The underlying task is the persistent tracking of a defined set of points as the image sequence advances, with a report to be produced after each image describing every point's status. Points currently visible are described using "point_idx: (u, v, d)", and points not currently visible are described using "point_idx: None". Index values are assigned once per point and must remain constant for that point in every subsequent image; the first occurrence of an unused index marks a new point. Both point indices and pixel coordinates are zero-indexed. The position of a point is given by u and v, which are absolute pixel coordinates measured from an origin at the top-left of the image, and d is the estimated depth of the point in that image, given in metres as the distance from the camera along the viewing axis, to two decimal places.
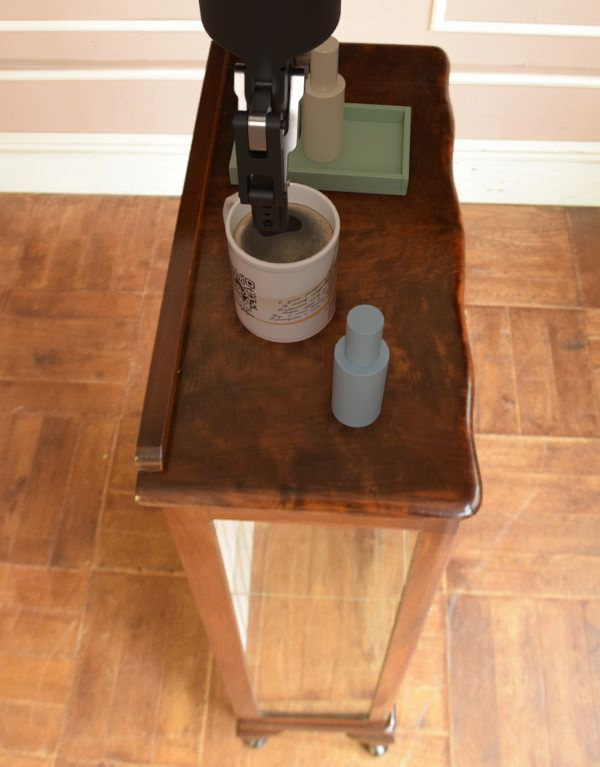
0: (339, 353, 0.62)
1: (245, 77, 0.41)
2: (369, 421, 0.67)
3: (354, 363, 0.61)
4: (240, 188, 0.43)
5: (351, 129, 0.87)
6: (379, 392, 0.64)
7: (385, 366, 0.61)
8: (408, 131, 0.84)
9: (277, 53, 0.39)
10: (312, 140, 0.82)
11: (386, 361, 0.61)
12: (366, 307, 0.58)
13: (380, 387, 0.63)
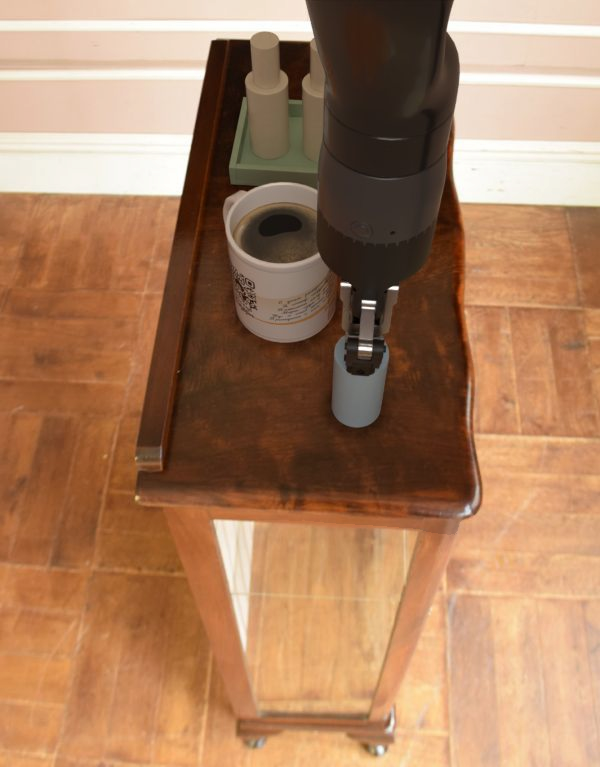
0: (338, 353, 0.62)
1: (354, 296, 0.50)
2: (369, 421, 0.67)
3: None
4: (346, 364, 0.55)
5: None
6: (379, 392, 0.64)
7: (385, 366, 0.61)
8: None
9: (383, 284, 0.49)
10: (312, 140, 0.82)
11: (386, 361, 0.61)
12: None
13: (380, 387, 0.63)
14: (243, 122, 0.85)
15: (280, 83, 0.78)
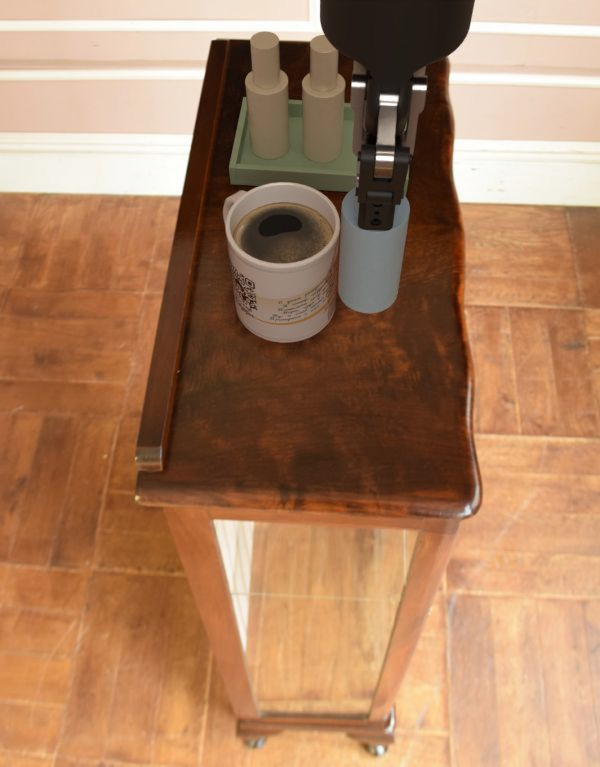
0: (347, 207, 0.50)
1: (370, 88, 0.38)
2: (384, 305, 0.56)
3: None
4: (359, 196, 0.43)
5: (351, 129, 0.87)
6: (397, 262, 0.52)
7: (405, 222, 0.49)
8: None
9: (409, 62, 0.37)
10: (312, 140, 0.82)
11: (406, 216, 0.49)
12: None
13: (398, 253, 0.52)
14: (243, 122, 0.85)
15: (280, 83, 0.78)
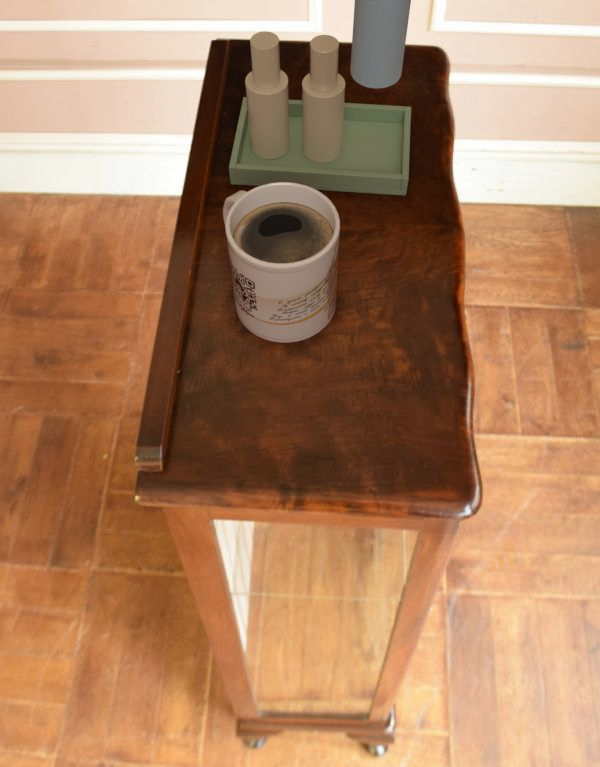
0: None
1: None
2: (390, 80, 0.65)
3: None
4: None
5: (351, 129, 0.87)
6: (402, 32, 0.62)
7: None
8: (408, 131, 0.84)
9: None
10: (312, 140, 0.82)
11: None
12: None
13: (403, 22, 0.61)
14: (243, 122, 0.85)
15: (280, 83, 0.78)
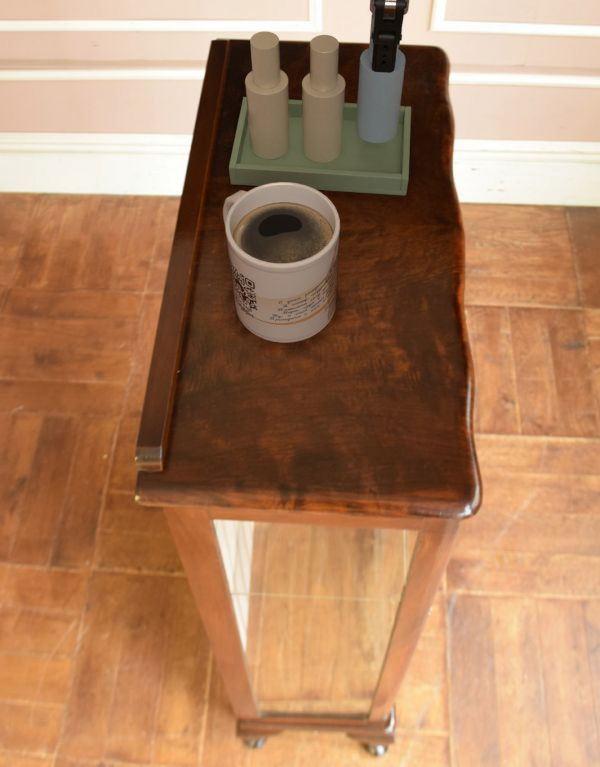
0: (364, 59, 0.75)
1: None
2: (387, 136, 0.81)
3: None
4: (374, 36, 0.68)
5: (351, 129, 0.87)
6: (396, 100, 0.78)
7: (402, 68, 0.75)
8: (408, 131, 0.84)
9: None
10: (312, 140, 0.82)
11: (403, 64, 0.75)
12: None
13: (397, 93, 0.77)
14: (243, 122, 0.85)
15: (280, 83, 0.78)
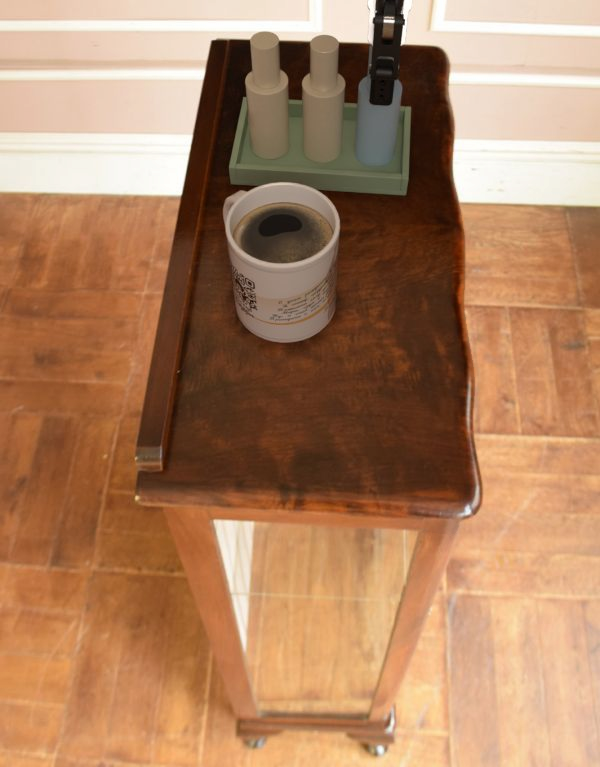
0: (362, 87, 0.78)
1: None
2: (385, 160, 0.84)
3: None
4: (371, 66, 0.68)
5: (351, 129, 0.87)
6: (394, 126, 0.80)
7: (399, 96, 0.77)
8: (408, 131, 0.84)
9: None
10: (312, 140, 0.82)
11: (400, 92, 0.77)
12: None
13: (394, 120, 0.80)
14: (243, 122, 0.85)
15: (280, 83, 0.78)
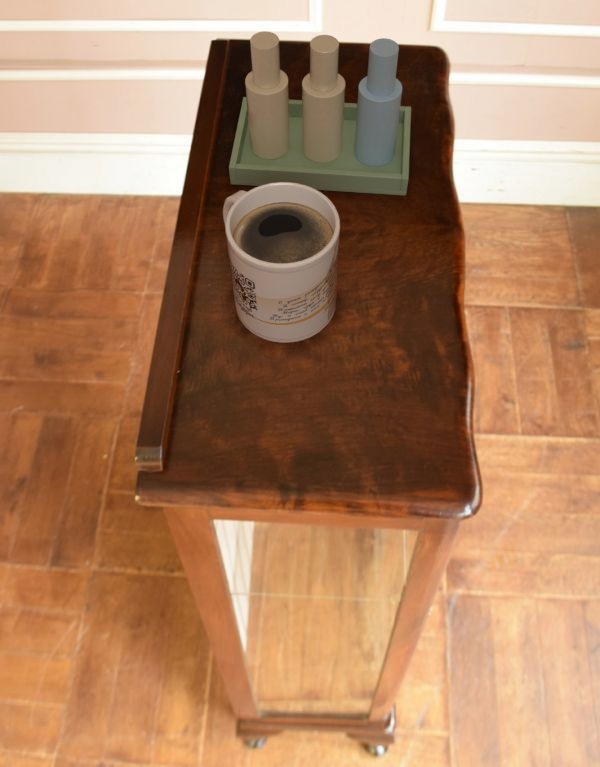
0: (362, 87, 0.78)
1: None
2: (385, 160, 0.84)
3: (374, 92, 0.77)
4: None
5: (351, 129, 0.87)
6: (394, 126, 0.80)
7: (399, 96, 0.77)
8: (408, 131, 0.84)
9: None
10: (312, 140, 0.82)
11: (400, 92, 0.77)
12: (384, 39, 0.75)
13: (394, 120, 0.80)
14: (243, 122, 0.85)
15: (280, 83, 0.78)
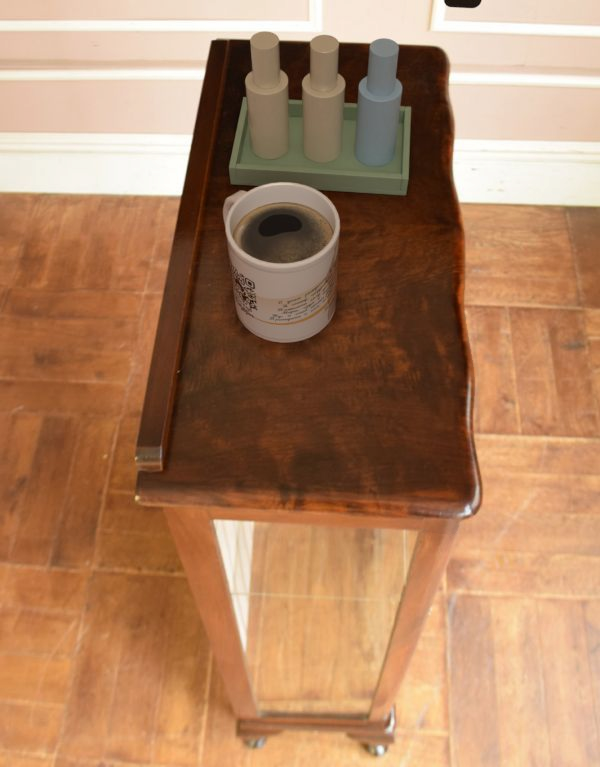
0: (362, 87, 0.78)
1: None
2: (385, 160, 0.84)
3: (374, 92, 0.77)
4: None
5: (351, 129, 0.87)
6: (394, 126, 0.80)
7: (399, 96, 0.77)
8: (408, 131, 0.84)
9: None
10: (312, 140, 0.82)
11: (400, 92, 0.77)
12: (384, 39, 0.75)
13: (394, 120, 0.80)
14: (243, 122, 0.85)
15: (280, 83, 0.78)
